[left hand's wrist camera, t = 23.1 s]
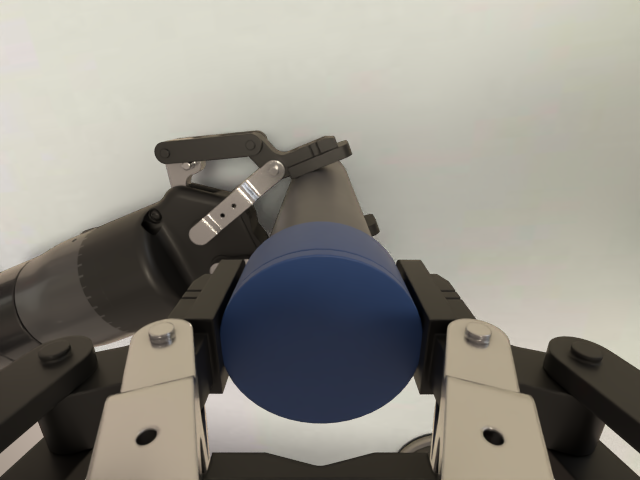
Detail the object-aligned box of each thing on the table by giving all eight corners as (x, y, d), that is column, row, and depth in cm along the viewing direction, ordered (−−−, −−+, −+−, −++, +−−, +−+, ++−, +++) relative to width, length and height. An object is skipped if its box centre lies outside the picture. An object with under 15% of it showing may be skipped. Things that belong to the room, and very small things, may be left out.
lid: (250, 366, 12) (233, 427, 10) (229, 225, 10) (202, 260, 8) (399, 359, 12) (418, 420, 10) (405, 216, 10) (430, 249, 8)
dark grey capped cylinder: (359, 179, 27) (436, 325, 9) (322, 219, 28) (327, 416, 10) (318, 141, 26) (313, 222, 8) (281, 184, 27) (207, 336, 9)
